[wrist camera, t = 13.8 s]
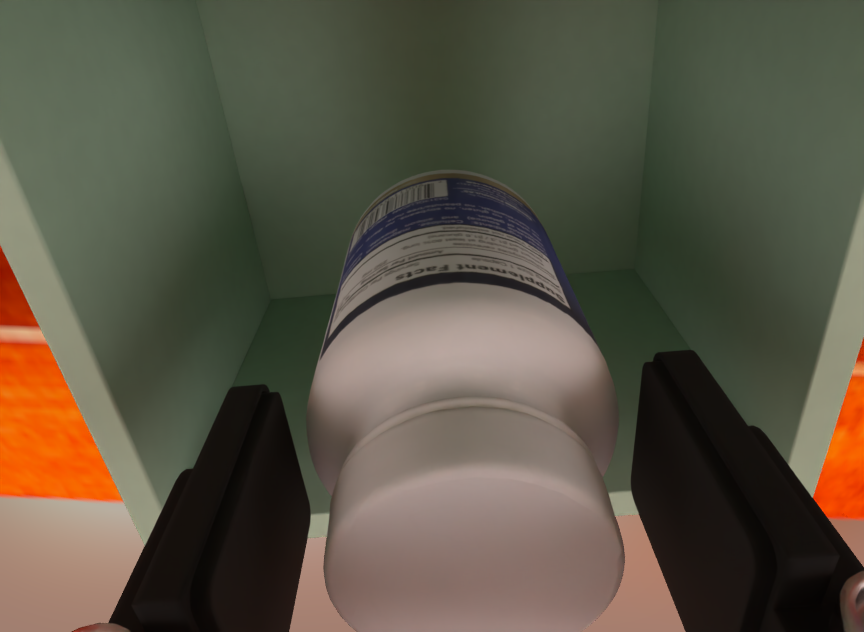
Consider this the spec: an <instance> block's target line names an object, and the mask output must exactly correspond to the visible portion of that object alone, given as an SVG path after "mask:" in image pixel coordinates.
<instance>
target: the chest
mask: <svg viewBox="0 0 864 632" xmlns="http://www.w3.org/2000/svg"><path fill="white" fill-rule="evenodd" d="M436 170H464V171H470V172H475V173H478V174H482V175H485V176H488V177H490V178H493V179H495V180H497V181H499V182H501V183H503V184H505V185H506V186H508V187H509V188H511V189H512V190H514V191H515V192H516V193H517V194H519V195H520V196H521V197H522V198H523V199H524V200H525V201H526V202H527V203H528V204H529V206H530V207H531V208H532V209H533V211H534V212H535V214H536V215H537V216H538V218H539V220H540V222H541V224H542V225H543V227H544V229H545V231H546V233H547V235H548V237H549V239H550V241H551V244H552V246H553V248H554V250H555V253H556V255H557V257H558V259H559V261H560V263H561V266H562V268H563V270H564V272H565V274H566V277H567V279H568V281H569V283H570V285H571V287H572V289H573V292H574V294H575V296H576V298H577V300H578V303H579V305H580V307H581V309H582V311H583V313H584V316H585V318H586V320H587V322H588V325H589V327H590V329H591V331H592V333H593V335H594V337H595V339H596V342H597V344H598V346H599V348H600V350H601V352H602V355H603V357H604V359H605V361H606V364H607V367H608V370H609V372H610V375H611V377H612V380H613V383H614V387H615V391H616V396H617V401H618V409H619V426H618V433H617V440H616V444H615V449H614V452H613V455H612V458H611V461H610V464H609V466H608V468H607V471H606V473H605V474H604V476H603V480H604V483H605V486H606V488H607V491H608V494H609V497H610V501H611V504H612V508H613V511H614V514H615V516H625V515H639V513H638V510H637V508H636V505H635V503H634V500H633V496H632V491H631V470H632V461H633V451H634V442H635V433H636V423H637V414H638V404H639V395H640V386H641V376H642V368H643V365H644V363H645V362H652V361H653V358H654V356H655V354H656V353H657V352H667V351H680V350H694V351H695V352H696V353H697V355H698V356H699V357H700V359H701V360H702V362H703V363H704V364H705V366H706V367H707V369H708V370H709V371H710V373H711V374H712V376H713V377H714V379H715V380H716V381H717V383H718V384H719V386H720V387H721V388H722V390H723V391H724V393H725V394H726V395H727V397H728V398H729V400H730V401H731V403H732V404H733V405H734V407H735V408H736V410H737V411H738V412H739V414H740V415H741V417H742V418H743V419H744V421H745V422H746V424H747V425H748V426H751V425H754V426H756V427H758V428H760V429H761V430H762V431H763V432H764V433H765V434H766V435H767V436H768V438H769V439H770V440H771V442H772V443H773V445H774V446H775V447H776V449H777V450H778V451H779V453H780V454H781V455H782V457H783V458H784V460H785V461H786V462H787V464H788V465H789V466H790V468H791V469H792V470H793V472H794V473H795V475H796V476H797V477H798V479H799V480H800V481H801V483H802V484H803V485H804V487H805V488H806V489H807V491H808V492H809V494H810V495H811V496H812V498H813V495H814V492H815V489H816V486H817V482H818V479H819V476H820V473H821V470H822V467H823V463H824V460H825V457H826V454H827V451H828V448H829V445H830V441H831V438H832V435H833V432H834V429H835V426H836V422H837V419H838V416H839V413H840V410H841V407H842V404H843V400H844V397H845V394H846V391H847V388H848V385H849V381H850V378H851V375H852V372H853V369H854V366H855V362H856V359H857V356H858V353H859V350H860V347H861V344H862V340H863V337H864V0H0V245H1V247H2V250H3V252H4V254H5V256H6V258H7V260H8V262H9V264H10V266H11V268H12V270H13V272H14V275H15V277H16V279H17V281H18V283H19V285H20V287H21V289H22V291H23V293H24V295H25V297H26V300H27V302H28V304H29V306H30V308H31V310H32V312H33V314H34V316H35V318H36V320H37V322H38V325H39V327H40V329H41V331H42V333H43V335H44V337H45V339H46V341H47V343H48V345H49V347H50V350H51V352H52V354H53V356H54V358H55V360H56V362H57V364H58V366H59V368H60V370H61V372H62V375H63V377H64V379H65V381H66V383H67V385H68V387H69V389H70V391H71V393H72V395H73V397H74V399H75V402H76V404H77V406H78V408H79V410H80V412H81V414H82V416H83V418H84V420H85V422H86V424H87V427H88V429H89V431H90V433H91V435H92V437H93V439H94V441H95V443H96V445H97V447H98V449H99V452H100V454H101V456H102V458H103V460H104V462H105V464H106V466H107V468H108V470H109V472H110V474H111V477H112V479H113V481H114V483H115V485H116V487H117V489H118V491H119V493H120V495H121V497H122V499H123V502H124V504H125V506H126V508H127V510H128V512H129V514H130V516H131V518H132V520H133V522H134V524H135V526H136V529H137V531H138V533H139V535H140V537H141V539H142V541H143V543H144V545H146V542H147V540H148V538H149V536H150V534H151V532H152V530H153V528H154V526H155V523H156V521H157V519H158V517H159V515H160V513H161V511H162V509H163V507H164V505H165V502H166V500H167V498H168V496H169V494H170V492H171V490H172V488H173V486H174V483H175V481H176V480H177V478H178V476H179V475H180V473H181V472H183V471H184V470H186V469H193V467H194V465H195V463H196V461H197V458H198V456H199V454H200V452H201V450H202V447H203V445H204V443H205V441H206V439H207V436H208V434H209V432H210V430H211V428H212V425H213V423H214V421H215V419H216V416H217V414H218V412H219V410H220V408H221V405H222V403H223V401H224V399H225V397H226V394H227V392H228V390H229V389H230V388H231V387H235V386H247V385H260V384H265V385H267V387H268V388H269V390H270V392H279V394H280V395H281V398H282V402H283V405H284V409H285V413H286V417H287V420H288V424H289V428H290V432H291V435H292V439H293V443H294V447H295V450H296V454H297V458H298V462H299V465H300V469H301V473H302V477H303V480H304V484H305V488H306V492H307V495H308V499H309V503H310V510H311V520H310V528H309V533H308V538H319V537H327V532H328V524H329V516H330V502H331V498H332V496H331V495H330V494H329V493H328V491H327V490H326V488H325V487H324V485H323V483H322V482H321V480H320V478H319V476H318V474H317V472H316V470H315V467H314V465H313V462H312V459H311V455H310V451H309V445H308V438H307V427H306V415H307V406H308V399H309V395H310V390H311V386H312V382H313V378H314V374H315V370H316V367H317V363H318V360H319V356H320V353H321V349H322V346H323V342H324V338H325V335H326V331H327V327H328V323H329V320H330V316H331V313H332V309H333V305H334V302H335V298H336V294H337V290H338V287H339V283H340V279H341V274H342V270H343V267H344V262H345V258H346V254H347V251H348V247H349V243H350V240H351V237H352V235H353V232H354V229H355V227H356V225H357V223H358V221H359V220H360V218H361V216H362V215H363V213H364V212H365V211H366V209H367V208H368V207H369V206H370V205H371V203H372V202H373V201H374V200H375V199H376V198H377V197H378V196H379V195H380V194H382V193H383V192H384V191H386V190H387V189H388V188H390V187H392V186H393V185H395V184H397V183H398V182H400V181H402V180H405V179H407V178H409V177H412V176H415V175H418V174H421V173H425V172H430V171H436Z"/></svg>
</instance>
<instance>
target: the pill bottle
mask: <svg viewBox="0 0 864 632" xmlns="http://www.w3.org/2000/svg"><path fill="white" fill-rule="evenodd" d="M618 426H619V409H618V401H617V396H616V391H615V387H614V383H613V380H612V377H611V375H610V372H609V370H608V367H607V364H606V361H605V359H604V357H603V355H602V352H601V350H600V348H599V346H598V344H597V342H596V339H595V337H594V335H593V333H592V331H591V329H590V327H589V325H588V322H587V320H586V318H585V316H584V313H583V311H582V309H581V307H580V305H579V303H578V300H577V298H576V296H575V294H574V292H573V289H572V287H571V285H570V283H569V281H568V279H567V277H566V274H565V272H564V270H563V268H562V266H561V263H560V261H559V259H558V257H557V255H556V253H555V250H554V248H553V246H552V244H551V241H550V239H549V237H548V235H547V233H546V231H545V229H544V227H543V225H542V224H541V222H540V220H539V218H538V216H537V215H536V214H535V212H534V211H533V209H532V208H531V207H530V206H529V204H528V203H527V202H526V201H525V200H524V199H523V198H522V197H521V196H520V195H519V194H517V193H516V192H515V191H514V190H512V189H511V188H509V187H508V186H506V185H505V184H503V183H501V182H499V181H497V180H495V179H493V178H490V177H488V176H485V175H482V174H478V173H475V172H470V171H464V170H436V171H430V172H425V173H421V174H418V175H415V176H412V177H409V178H407V179H405V180H402V181H400V182H398V183H397V184H395V185H393V186H392V187H390V188H388V189H387V190H386V191H384V192H383V193H382V194H380V195H379V196H378V197H377V198H376V199H375V200H374V201H373V202H372V203H371V205H370V206H369V207H368V208H367V209H366V211H365V212H364V213H363V215H362V216H361V218H360V220H359V221H358V223H357V225H356V227H355V229H354V232H353V235H352V237H351V240H350V243H349V247H348V251H347V254H346V258H345V262H344V267H343V270H342V274H341V279H340V283H339V287H338V290H337V294H336V298H335V302H334V305H333V309H332V313H331V316H330V320H329V323H328V327H327V331H326V335H325V338H324V342H323V346H322V349H321V353H320V356H319V360H318V363H317V367H316V370H315V374H314V378H313V382H312V386H311V390H310V395H309V399H308V406H307V415H306V427H307V438H308V445H309V451H310V455H311V459H312V462H313V465H314V467H315V470H316V472H317V474H318V476H319V478H320V480H321V482H322V483H323V485H324V487H325V488H326V490H327V491H328V493H329V494H330V495H331V496H332V498H331V502H330V516H329V524H328V532H327V540H326V547H325V555H324V577H325V583H326V588H327V592H328V594H329V597H330V600H331V601H332V603H333V605H334V606H335V608H336V610H337V611H338V613H339V614H340V616H341V617H342V618H343V619H344V620H345V621H346V622H347V623H348V624H349V626H351V627H352V628H353V629H354V630H355V631H357V632H582V631H583V630H584V629H586V628H587V627H588V626H589V625H591V624H592V623H593V622H594V621H595V620H596V619H597V618H598V617H599V616H600V615H601V614H602V613H603V612H604V610H605V609H606V608H607V607H608V605H609V604H610V602H611V601H612V600H613V598H614V597H615V595H616V593H617V590H618V588H619V586H620V583H621V579H622V576H623V571H624V563H625V554H624V546H623V540H622V537H621V533H620V529H619V526H618V523H617V520H616V517H615V514H614V511H613V508H612V504H611V501H610V497H609V494H608V491H607V488H606V486H605V483H604V480H603V476H604V474H605V473H606V471H607V468H608V466H609V464H610V461H611V458H612V455H613V452H614V449H615V444H616V440H617V433H618Z"/></svg>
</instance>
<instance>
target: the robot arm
mask: <svg viewBox="0 0 864 632" xmlns="http://www.w3.org/2000/svg"><path fill="white" fill-rule="evenodd" d="M631 491H632V496H633V500H634V503H635V505H636V508H637V510H638V513H639V515H640V518H641V520H642V523H643V525H644V528H645V531H646V533H647V536H648V538H649V540H650V543H651V545H652V548H653V551H654V553H655V556H656V558H657V560H658V563H659V566H660V568H661V571H662V573H663V576H664V578H665V581H666V583H667V586H668V588H669V591H670V593H671V596H672V598H673V601H674V604H675V606H676V609H677V611H678V614H679V616H680V619H681V621H682V624H683V626H684V629H685V631H686V632H864V567H863V566H862V564H861V563H860V562H859V560H858V559H857V558H856V556H855V555H854V553H853V552H852V551H851V549H850V548H849V547H848V546H847V544H846V543H845V541H844V540H843V539H842V537H841V536H840V534H839V533H838V532H837V530H836V529H835V528H834V526H833V525H832V524H831V522H830V521H829V519H828V518H827V517H826V515H825V514H824V513H823V511H822V510H821V509H820V507H819V506H818V504H817V503H816V502H815V500H814V499H813V498H812V496H811V495H810V494H809V492H808V491H807V489H806V488H805V487H804V485H803V484H802V483H801V481H800V480H799V479H798V477H797V476H796V475H795V473H794V472H793V470H792V469H791V468H790V466H789V465H788V464H787V462H786V461H785V460H784V458H783V457H782V455H781V454H780V453H779V451H778V450H777V449H776V447H775V446H774V445H773V443H772V442H771V440H770V439H769V438H768V436H767V435H766V434H765V433H764V432H763V431H762V430H761V429H760V428H758V427H756V426H754V425H751V426H748V425H747V424H746V422H745V421H744V419H743V418H742V417H741V415H740V414H739V412H738V411H737V410H736V408H735V407H734V405H733V404H732V403H731V401H730V400H729V398H728V397H727V395H726V394H725V393H724V391H723V390H722V388H721V387H720V386H719V384H718V383H717V381H716V380H715V379H714V377H713V376H712V374H711V373H710V371H709V370H708V369H707V367H706V366H705V364H704V363H703V362H702V360H701V359H700V357H699V356H698V355H697V353H696V352H695V351H694V350H680V351H667V352H657V353H656V354H655V356H654V358H653V361H652V362H645V363H644V365H643V368H642V376H641V386H640V395H639V404H638V414H637V423H636V433H635V442H634V451H633V461H632V470H631ZM310 520H311V510H310V503H309V499H308V495H307V492H306V488H305V484H304V480H303V477H302V473H301V469H300V465H299V462H298V458H297V454H296V450H295V447H294V443H293V439H292V435H291V432H290V428H289V424H288V420H287V417H286V413H285V409H284V405H283V402H282V398H281V395H280V394H279V392H270V390H269V388H268V387H267V385H265V384H260V385H247V386H235V387H231V388H230V389H229V390H228V392H227V394H226V397H225V399H224V401H223V403H222V405H221V408H220V410H219V412H218V414H217V416H216V419H215V421H214V423H213V425H212V428H211V430H210V432H209V434H208V436H207V439H206V441H205V443H204V445H203V447H202V450H201V452H200V454H199V456H198V458H197V461H196V463H195V465H194V467H193V469H186V470H184V471H183V472H181V473H180V475H179V476H178V478H177V480H176V481H175V483H174V486H173V488H172V490H171V492H170V494H169V496H168V498H167V500H166V502H165V505H164V507H163V509H162V511H161V513H160V515H159V517H158V519H157V521H156V523H155V526H154V528H153V530H152V532H151V534H150V536H149V538H148V540H147V542H146V545H145V547H144V549H143V551H142V553H141V555H140V557H139V559H138V561H137V564H136V566H135V568H134V570H133V572H132V574H131V576H130V578H129V581H128V582H127V585H126V587H125V589H124V591H123V593H122V595H121V597H120V599H119V601H118V604H117V606H116V608H115V610H114V612H113V614H112V616H111V618H110V620H109V623H97V624H93V625H89V626H85V627H81V628H78V629H76V630H74V631H72V632H289V629H290V624H291V619H292V614H293V609H294V604H295V599H296V594H297V589H298V584H299V579H300V574H301V568H302V563H303V558H304V553H305V548H306V543H307V538H308V533H309V528H310Z"/></svg>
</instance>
